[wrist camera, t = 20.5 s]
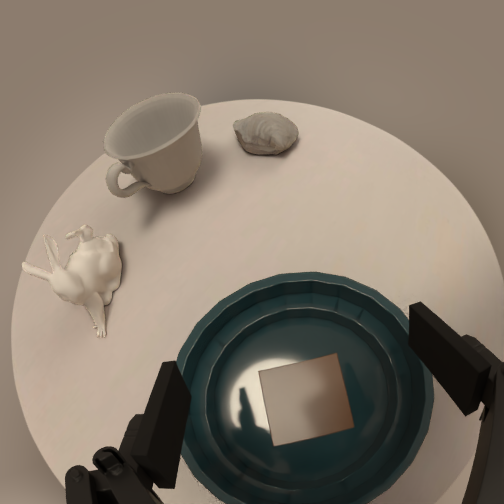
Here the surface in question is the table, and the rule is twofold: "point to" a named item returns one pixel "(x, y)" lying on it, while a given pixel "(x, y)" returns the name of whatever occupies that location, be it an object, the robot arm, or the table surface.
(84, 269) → the rabbit figurine
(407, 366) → the bowl
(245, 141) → the pebble
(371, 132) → the table surface
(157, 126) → the teacup
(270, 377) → the walnut block
